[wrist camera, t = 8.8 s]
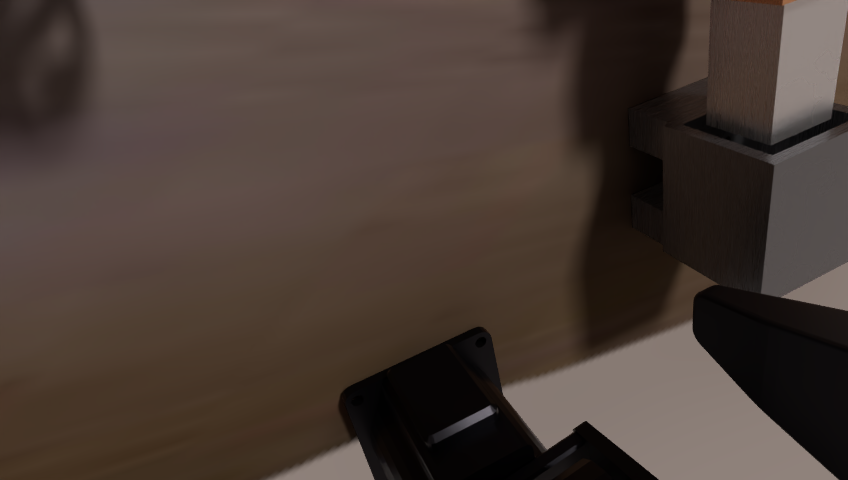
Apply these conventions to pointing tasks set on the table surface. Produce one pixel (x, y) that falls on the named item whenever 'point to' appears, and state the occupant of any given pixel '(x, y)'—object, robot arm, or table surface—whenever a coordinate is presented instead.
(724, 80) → the grey and copper post
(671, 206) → the metal sleeve
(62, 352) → the table surface
